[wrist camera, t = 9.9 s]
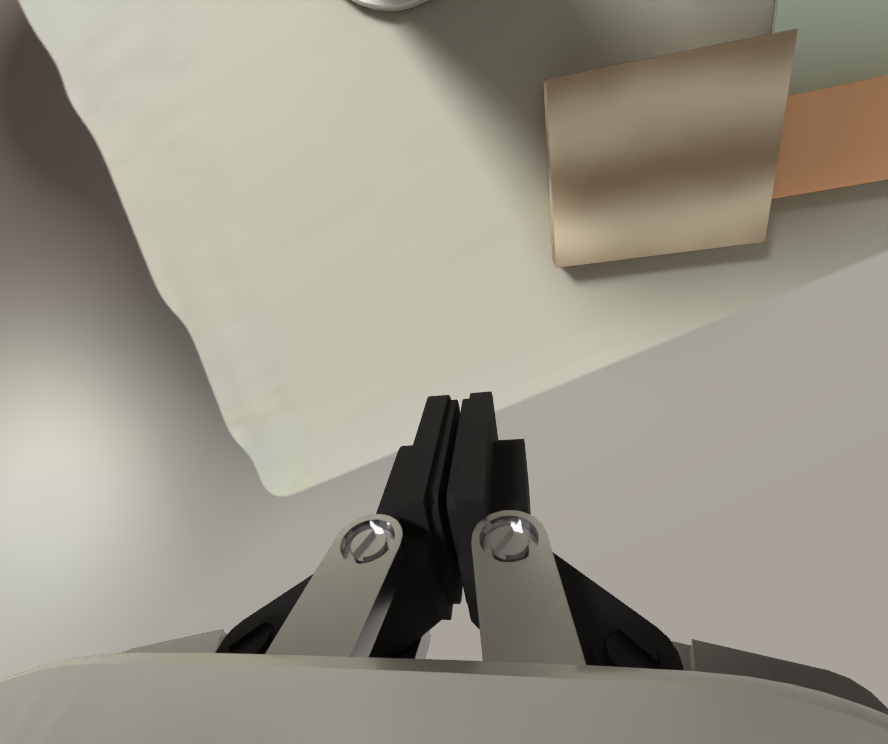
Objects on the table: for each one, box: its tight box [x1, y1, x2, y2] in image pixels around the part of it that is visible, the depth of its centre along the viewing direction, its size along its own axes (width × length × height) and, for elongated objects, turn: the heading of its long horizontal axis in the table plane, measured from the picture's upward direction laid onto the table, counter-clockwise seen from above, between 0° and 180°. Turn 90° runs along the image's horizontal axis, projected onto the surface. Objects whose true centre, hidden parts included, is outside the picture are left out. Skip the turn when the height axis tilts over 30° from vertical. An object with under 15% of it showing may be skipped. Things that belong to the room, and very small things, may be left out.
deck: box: [543, 28, 798, 268], centre depth 31 cm, size 12×14×3 cm
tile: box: [772, 75, 888, 199], centre depth 29 cm, size 6×9×2 cm, turn 101°
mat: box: [771, 0, 888, 96], centre depth 28 cm, size 12×12×1 cm
